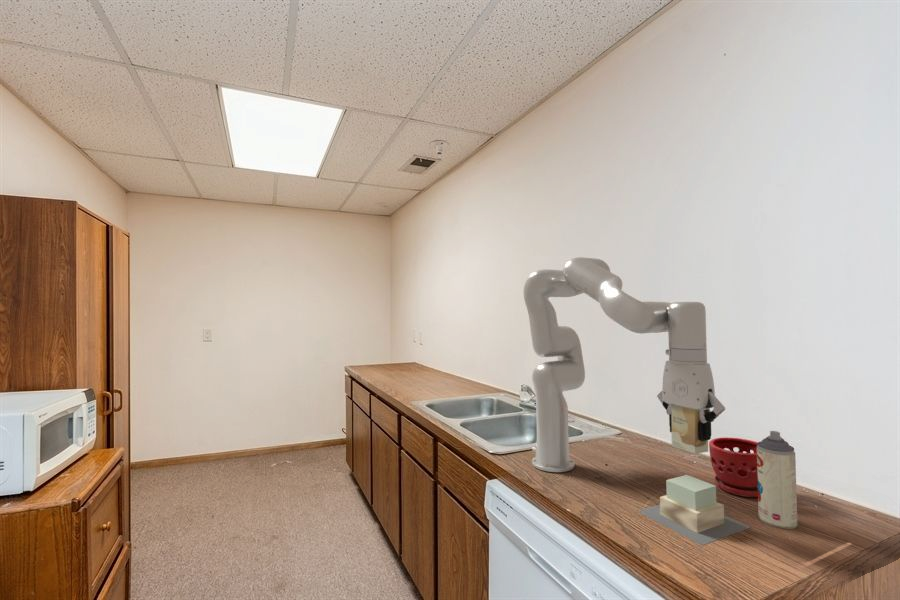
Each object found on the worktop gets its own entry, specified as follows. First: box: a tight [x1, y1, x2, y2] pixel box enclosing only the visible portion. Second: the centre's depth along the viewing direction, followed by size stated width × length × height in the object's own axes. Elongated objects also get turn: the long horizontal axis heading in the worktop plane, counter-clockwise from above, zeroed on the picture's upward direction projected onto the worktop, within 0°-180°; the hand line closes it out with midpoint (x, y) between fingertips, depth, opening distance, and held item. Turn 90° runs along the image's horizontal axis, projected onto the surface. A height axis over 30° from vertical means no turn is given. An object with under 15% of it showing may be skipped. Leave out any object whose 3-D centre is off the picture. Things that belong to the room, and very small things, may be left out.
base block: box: [659, 494, 725, 533], centre depth 95 cm, size 9×9×4 cm
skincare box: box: [671, 402, 709, 455], centre depth 96 cm, size 6×4×12 cm
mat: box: [636, 503, 751, 546], centre depth 95 cm, size 16×16×1 cm
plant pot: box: [708, 437, 759, 498], centre depth 111 cm, size 13×13×12 cm
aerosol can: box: [757, 430, 798, 530], centre depth 94 cm, size 7×7×20 cm
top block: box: [665, 474, 717, 511], centre depth 95 cm, size 7×7×4 cm
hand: (689, 435), depth 96 cm, fingers closed on skincare box, 6 cm apart
